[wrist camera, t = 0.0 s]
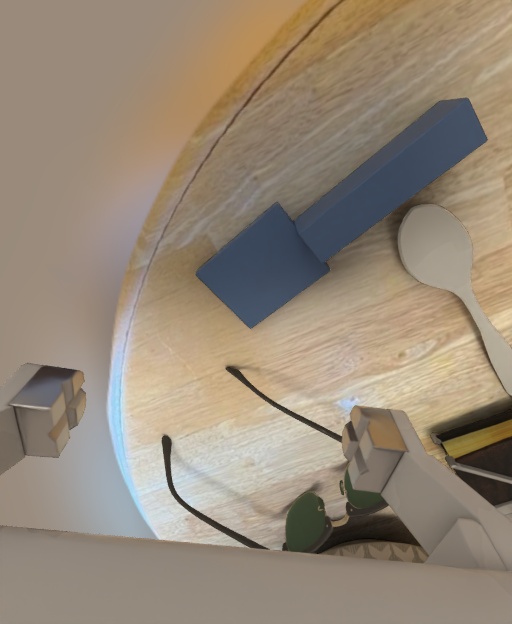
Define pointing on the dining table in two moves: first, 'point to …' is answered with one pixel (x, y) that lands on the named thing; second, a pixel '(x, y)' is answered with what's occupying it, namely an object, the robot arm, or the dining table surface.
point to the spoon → (450, 271)
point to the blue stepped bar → (337, 215)
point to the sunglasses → (306, 509)
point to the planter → (379, 550)
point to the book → (483, 458)
